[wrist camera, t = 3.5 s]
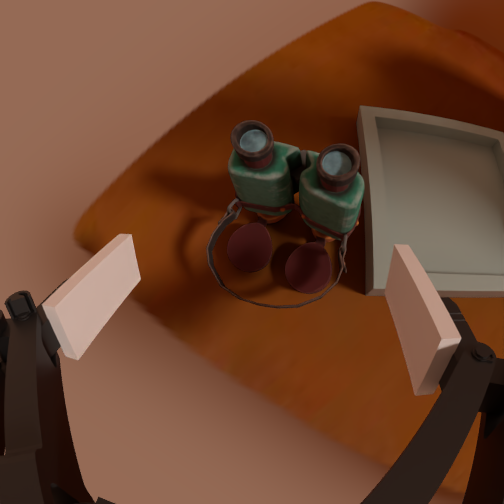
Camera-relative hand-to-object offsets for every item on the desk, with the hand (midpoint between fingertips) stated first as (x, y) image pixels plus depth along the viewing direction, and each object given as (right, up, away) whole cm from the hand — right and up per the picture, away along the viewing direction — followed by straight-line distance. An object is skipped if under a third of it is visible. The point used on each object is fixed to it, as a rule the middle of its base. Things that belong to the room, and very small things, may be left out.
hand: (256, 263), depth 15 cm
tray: (+17, +5, +8) cm, 19 cm away
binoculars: (+2, 0, +9) cm, 9 cm away
